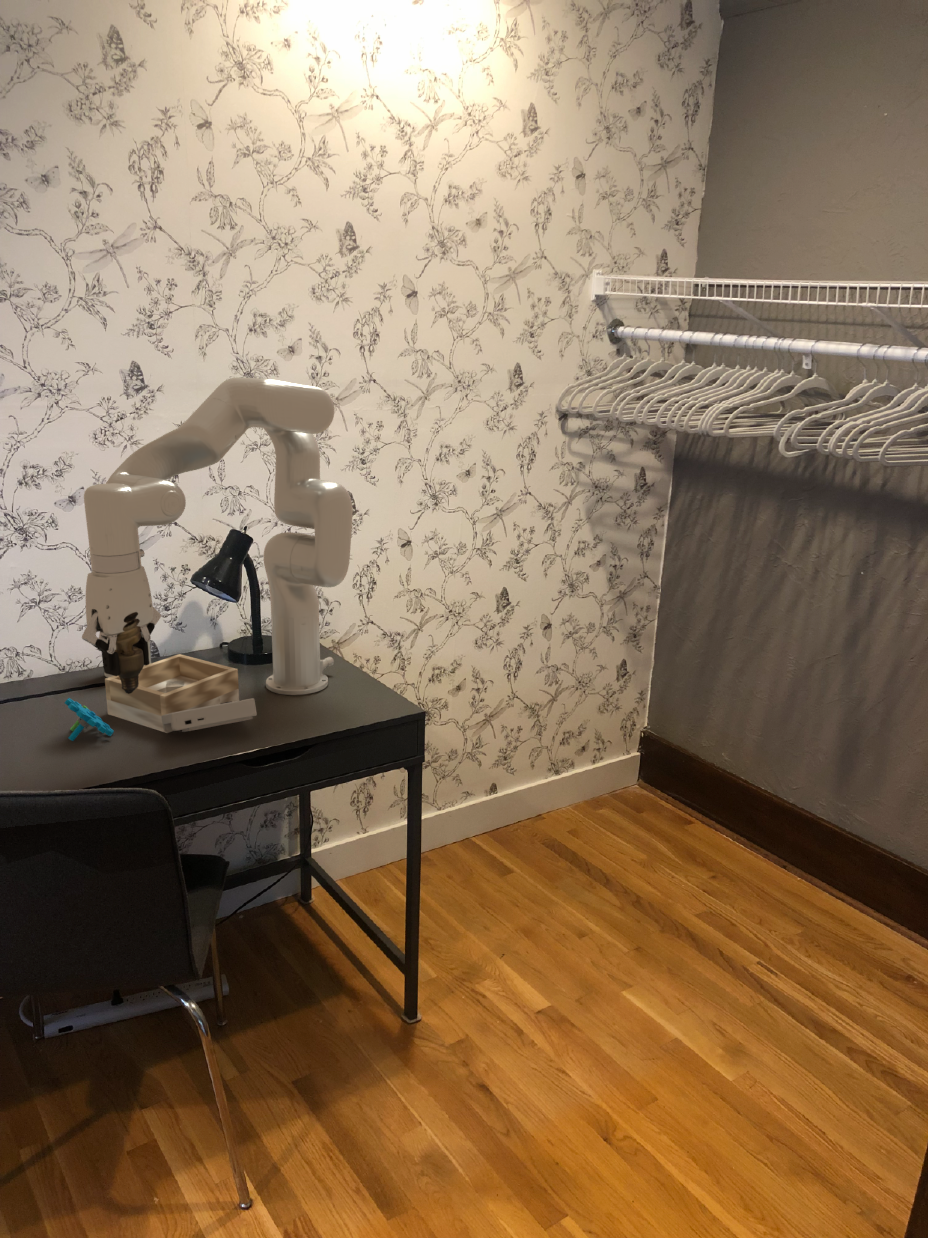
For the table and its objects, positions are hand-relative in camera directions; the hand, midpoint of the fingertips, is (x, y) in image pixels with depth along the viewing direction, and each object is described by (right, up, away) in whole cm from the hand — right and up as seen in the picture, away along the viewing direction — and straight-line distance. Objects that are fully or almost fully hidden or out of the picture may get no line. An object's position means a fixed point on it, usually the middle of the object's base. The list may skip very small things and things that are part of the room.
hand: (127, 667), depth 158 cm
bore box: (0, -9, +25) cm, 26 cm away
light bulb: (0, -4, +1) cm, 5 cm away
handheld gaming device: (+11, -11, +12) cm, 20 cm away
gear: (-11, -13, +12) cm, 20 cm away
